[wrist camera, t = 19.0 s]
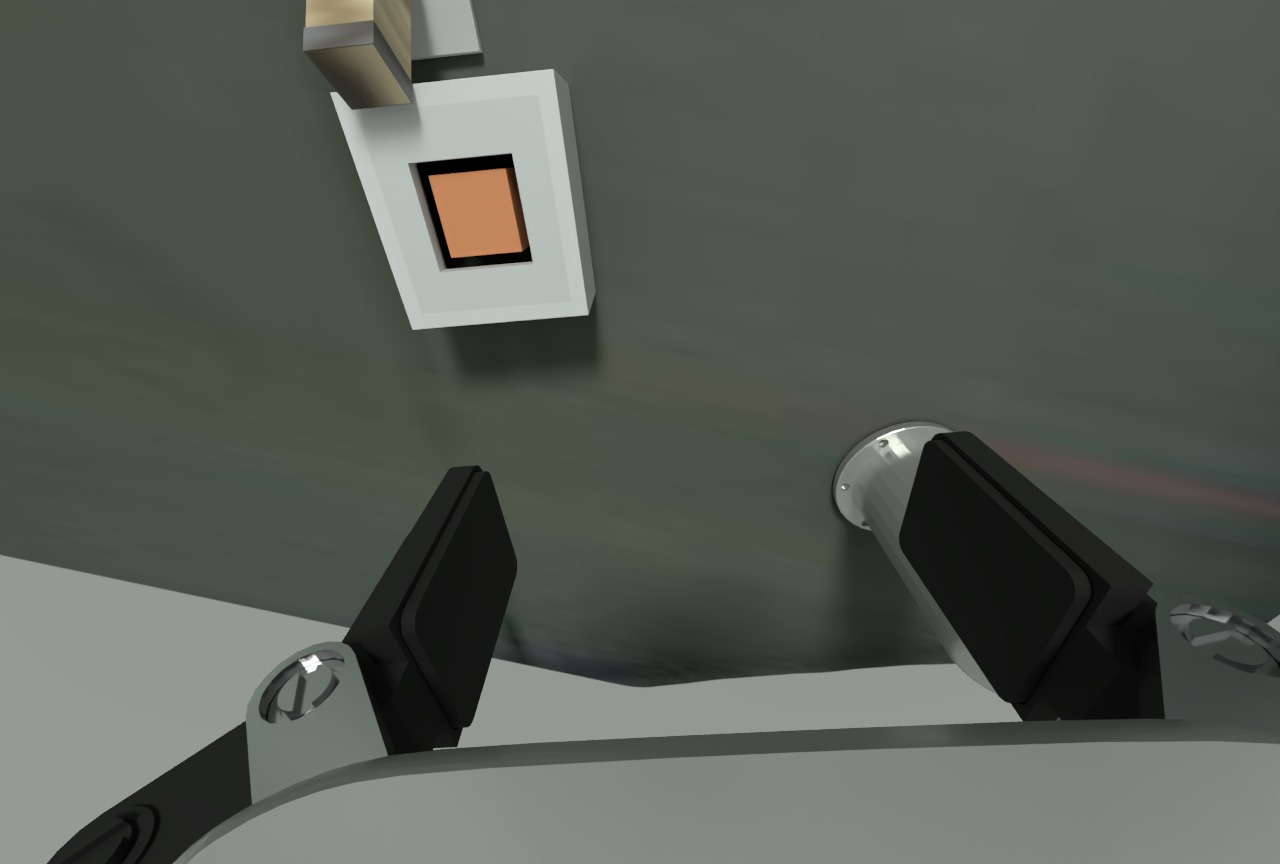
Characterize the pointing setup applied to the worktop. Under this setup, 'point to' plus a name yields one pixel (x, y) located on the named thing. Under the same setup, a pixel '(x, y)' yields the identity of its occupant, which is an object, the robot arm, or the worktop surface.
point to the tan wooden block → (362, 49)
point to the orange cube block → (480, 212)
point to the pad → (443, 29)
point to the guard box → (464, 128)
